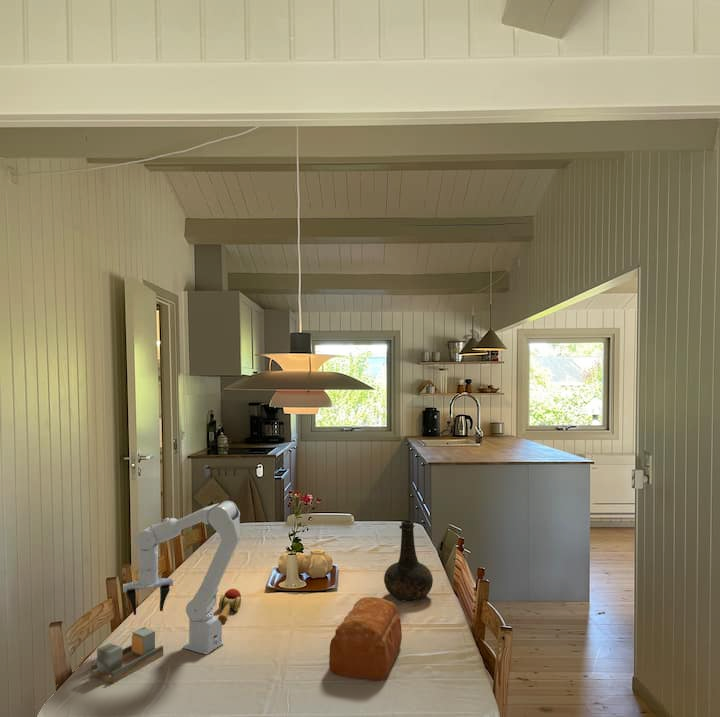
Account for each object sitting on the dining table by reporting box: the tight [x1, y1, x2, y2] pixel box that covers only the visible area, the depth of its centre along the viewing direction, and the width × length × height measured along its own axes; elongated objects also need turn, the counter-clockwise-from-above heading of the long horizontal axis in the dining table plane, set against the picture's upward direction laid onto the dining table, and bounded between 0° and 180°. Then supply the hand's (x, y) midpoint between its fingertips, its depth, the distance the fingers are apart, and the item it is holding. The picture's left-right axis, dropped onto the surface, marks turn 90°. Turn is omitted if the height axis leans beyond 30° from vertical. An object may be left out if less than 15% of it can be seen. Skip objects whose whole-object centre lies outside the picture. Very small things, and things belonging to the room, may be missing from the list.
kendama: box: [217, 588, 242, 624], centre depth 214 cm, size 8×6×18 cm
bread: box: [328, 596, 403, 681], centre depth 181 cm, size 17×24×15 cm
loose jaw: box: [131, 627, 156, 656], centre depth 181 cm, size 5×4×6 cm
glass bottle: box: [383, 519, 434, 602], centre depth 228 cm, size 18×18×28 cm
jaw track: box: [89, 642, 164, 684], centre depth 176 cm, size 9×18×8 cm, turn 152°
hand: (148, 611), depth 191 cm, fingers open, 7 cm apart
